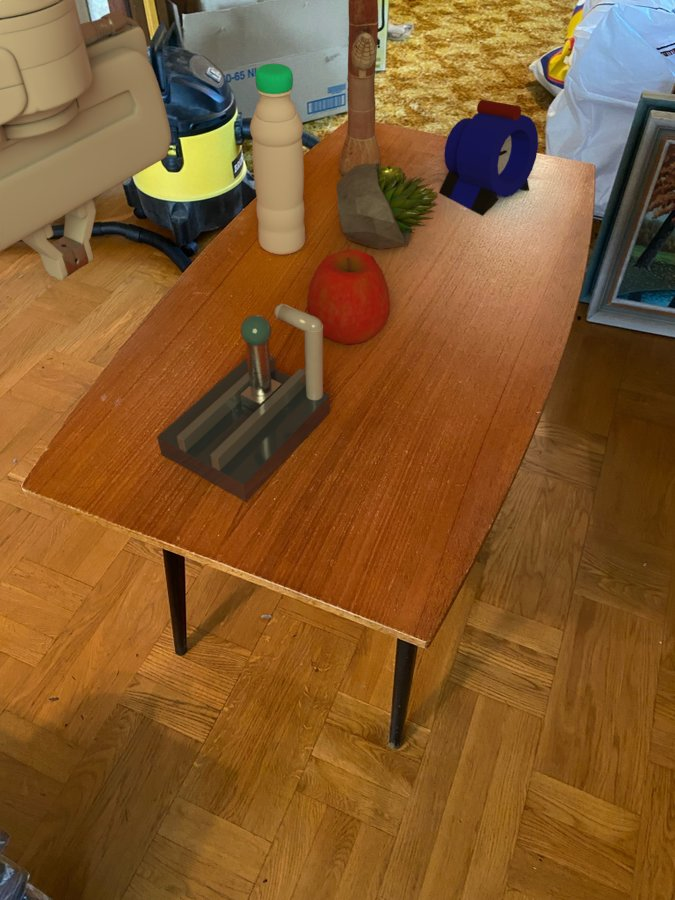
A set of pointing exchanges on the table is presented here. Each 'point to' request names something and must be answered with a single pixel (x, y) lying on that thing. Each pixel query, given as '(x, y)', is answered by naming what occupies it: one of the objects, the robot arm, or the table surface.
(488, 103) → the alarm clock
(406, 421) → the table surface
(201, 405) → the tap base
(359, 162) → the brown carved wooden post
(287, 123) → the water bottle
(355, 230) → the potted plant
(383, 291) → the apple
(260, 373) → the tap handle
